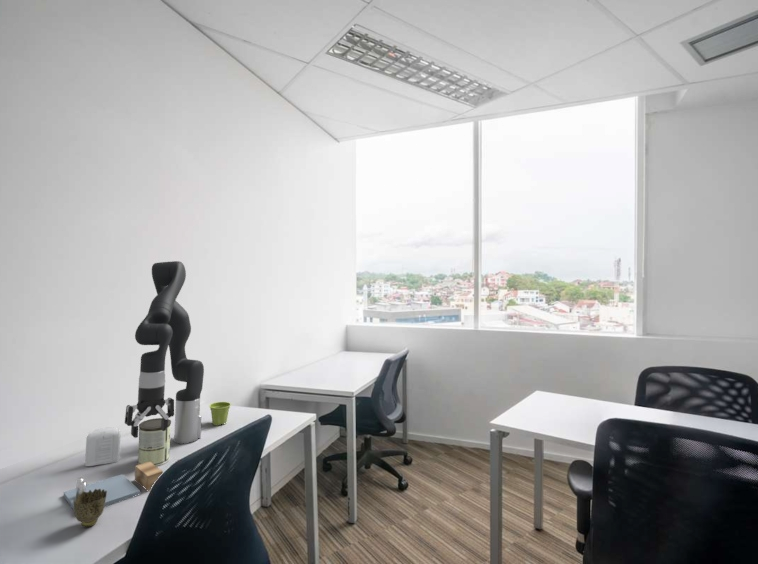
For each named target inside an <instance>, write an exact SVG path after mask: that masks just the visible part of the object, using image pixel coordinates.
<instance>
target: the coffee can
mask: <svg viewBox="0 0 758 564" xmlns="http://www.w3.org/2000/svg"><path fill="white" fill-rule="evenodd" d="M161 419H162V417H157V418H150V419H145V420H144V421H142V422H141V421H140V422H139V424H138V453H137V454H138V457H137V459H138V460H137V465H140V464H143V463H147V462H151V463H152V464H154V465H155V466H156V467H160V466H162V465H165V464H166V463H168V462H169V460H170V449H171V448H170V446H171V445H170V444H171V424H172V420H171V419H169V418H168V427H167V429H166V430H165V431H162V430H161Z"/></svg>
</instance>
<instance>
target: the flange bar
mask: <svg viewBox="0 0 758 564" xmlns="http://www.w3.org/2000/svg"><path fill="white" fill-rule="evenodd" d="M134 470H135V471H134V481H135V480H136V481H137V482H138V483H140V484H141V485H142V486H144V487H145V488H146V490H148V491H147V492H149V490H150V489H151V487H152V485H153V484H154V482H155V481H156V480H157V479H158V477H159V476H160V475H161V474H162V473H164V471H163V470H162V469H160V468H159V466H155V465H154V464H152V463H151V462H147V463H143V464H140V465H138V464H137V465H135V467H134ZM136 481H135V482H136ZM137 482H136V483H137ZM138 483H137V484H138ZM140 484H139V485H140ZM141 485H140V486H141ZM142 486H141V487H142ZM146 490H145V491H146ZM150 491H151V490H150Z"/></svg>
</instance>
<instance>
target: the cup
mask: <svg viewBox="0 0 758 564" xmlns="http://www.w3.org/2000/svg"><path fill="white" fill-rule="evenodd" d="M106 495H107V491H105V492H104V489H103V490H102V492H101V489H98V490H97V489H95V490H94V491H93V493H92V491H91V490H89V492H84V491H83V492H82V493H81V494H78V495H77V499H74V500H73V501H74V510H73V512H74V515H75V518H76V520H77V521H78V522H80V526H82V528H90V527H92V526H95V525H97V522H98V518H99V517H101V515H102V514H103V513H104V509H105V507H104V506H105V501H106Z"/></svg>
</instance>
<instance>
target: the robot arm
mask: <svg viewBox="0 0 758 564" xmlns="http://www.w3.org/2000/svg"><path fill="white" fill-rule="evenodd" d="M151 276H152V281H153V285H154V287H155V291H156V294H157V295H156V296H155V297H154V298H153V299H152V301H151V303H150V306H149V309H148V312H147V314H146V316H145V317H144V319H142V320H141V322H140V323H139V325H138V326H137V328H136V330H135V334H134V337H135V338H134V339H135V341H136V343H137V344H139V345H141V346H158V348H157V349H156V350H152V351H147V352H144V353H143V354H142V355H141V357H140V369H139V370H140V371H139V377H138V393H137V403H136V404H133V405H130V404H128V405H126V407H125V415H124V424H125V425H127V426H129V427H130V426H131V429H130V435H131V436H132V437H133V438H135V439H136V438H139V424H140V423H141V421H143V420H144V418H145V417H146V418H149V417H151V416H156V415H159V416H160V418H162V419H161V430H162V431H165V430H166V429H167V427H168V419H169V418H171V417H174V431H173V432H174V433H173V441H174V443H176V444H179V445H180V444H183V443H184V444H190V443H189V442H191V443H194V442H196V441H197V440H199V439H198V438H200V439H202V438H201V437H202V415H201V413H200V411H201V393H202V390H203V385H204V384H203V383H204V376H205V369H204V364H203V362H202V361H200V360H198V359H188V357H187V354H186V346H187V345H186V344H187V341H188V339H189V337H190V335H191V332H192V326H191V321H190V315H189V313H188V312H187V310H186V309H185V308H184V307H183V306H182V305H181V304H180V303H179V302H178V301H177V298H178V296H179V294H180V292H181V290H182V288H183V286H184V284H185V282H186V276H187V271H186V267H185V265H184V263H182V261H179V260H178V261H177V260H176V261H174V260H172V261H161V262H160V261H159V262H155V263H153V264H152V267H151ZM168 348H169V354H170V355H169V356H170V367H171V374H172V377H173V379H174V380H175V381H178V382H183V383H186V384H185V388H183V389H179V390H178V391H176V393H175V400H174V399H173V398H172V397H167V398H166V399H165V389H166V388H165V385H166V373H165V371H166V370H165V369H166V368H165V367H166V366H165V365H166V358H167V357H166V356H167V351H168ZM165 405H166V406H167V407H166V409H167V410H166V411H167V412H166V411H165V410H163V407H164V406H165ZM136 410H137V412H136ZM135 412H136V413H135ZM134 413H135V416H134V415H133V414H134ZM133 417H134V418H133ZM195 440H196V441H195ZM193 441H194V442H193Z"/></svg>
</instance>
